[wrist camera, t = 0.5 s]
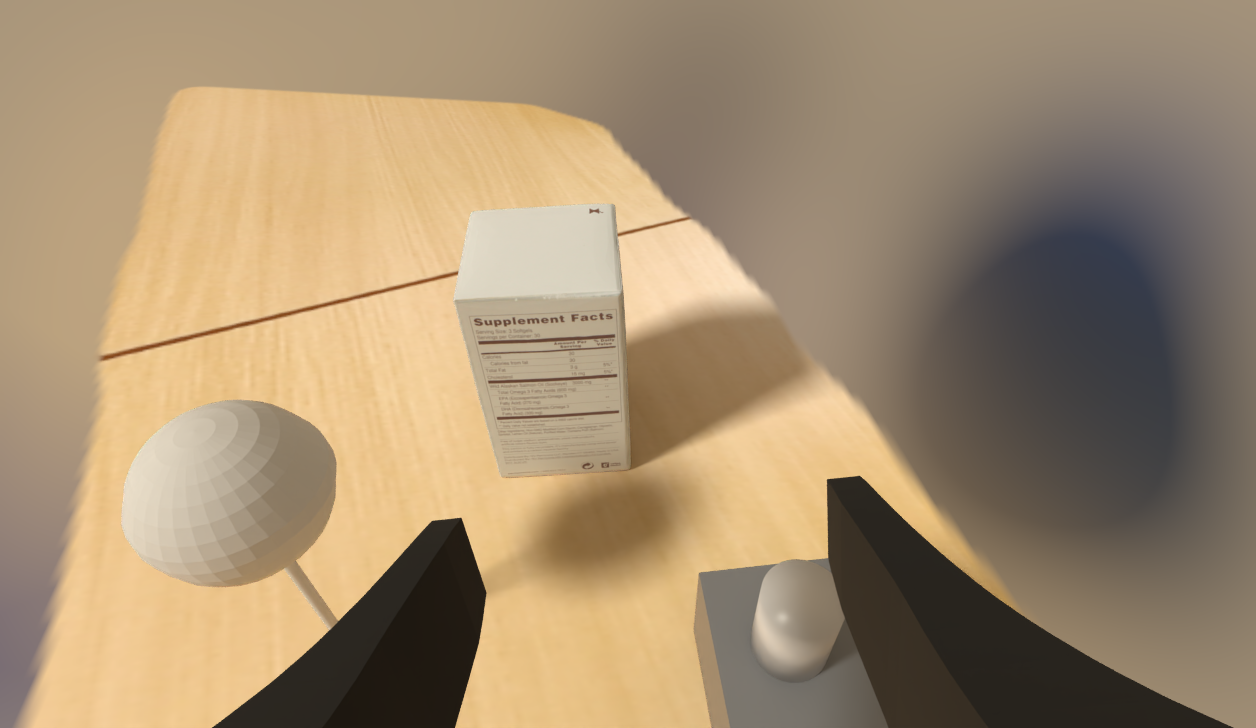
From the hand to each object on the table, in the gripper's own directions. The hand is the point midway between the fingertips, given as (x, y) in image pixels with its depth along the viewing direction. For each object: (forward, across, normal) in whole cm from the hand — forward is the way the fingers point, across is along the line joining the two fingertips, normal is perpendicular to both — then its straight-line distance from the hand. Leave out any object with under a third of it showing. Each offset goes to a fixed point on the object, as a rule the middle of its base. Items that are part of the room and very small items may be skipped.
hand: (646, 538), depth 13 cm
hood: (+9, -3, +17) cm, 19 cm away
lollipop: (+10, +15, +14) cm, 23 cm away
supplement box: (+23, +6, +12) cm, 27 cm away
